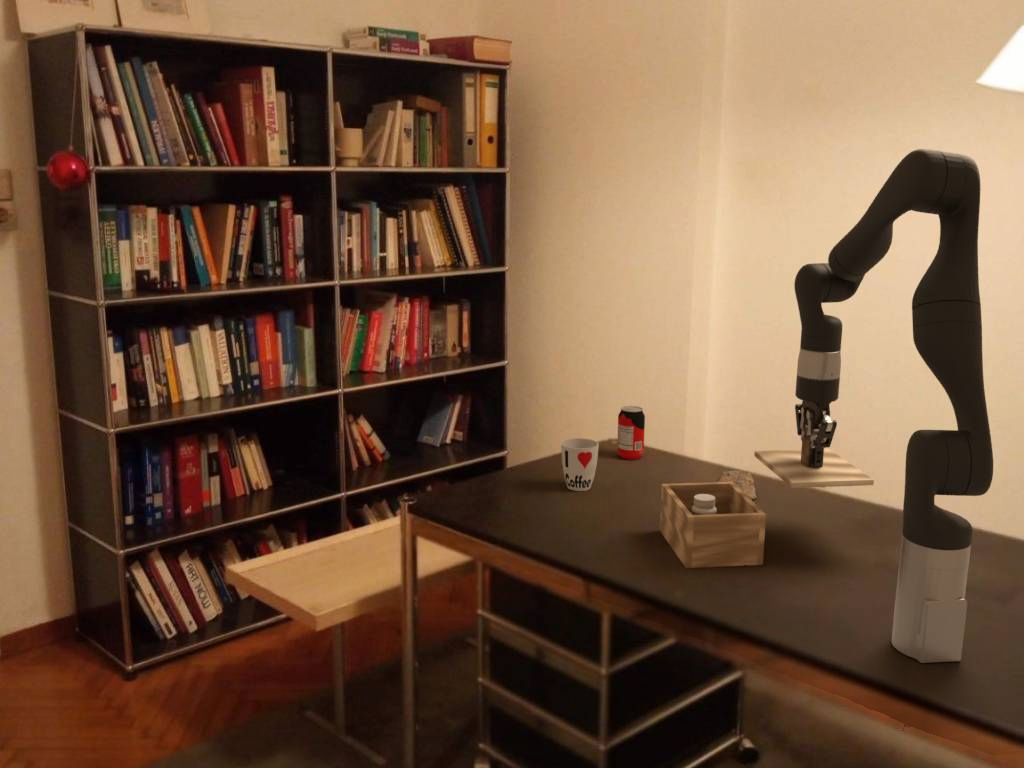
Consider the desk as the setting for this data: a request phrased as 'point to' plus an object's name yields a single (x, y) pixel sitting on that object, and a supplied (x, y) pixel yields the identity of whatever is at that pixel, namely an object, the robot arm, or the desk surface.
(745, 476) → the rock
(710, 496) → the pill bottle
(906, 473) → the robot arm
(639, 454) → the beverage can
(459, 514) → the desk surface
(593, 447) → the cup
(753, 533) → the box
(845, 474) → the lid
